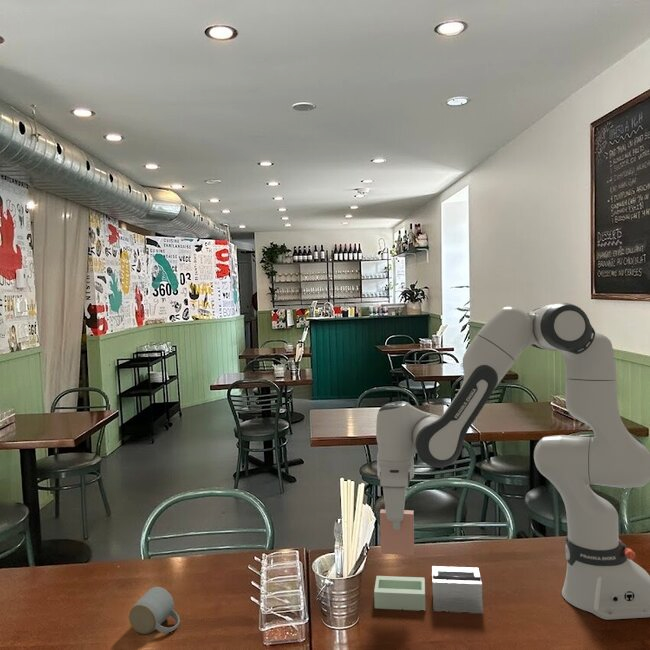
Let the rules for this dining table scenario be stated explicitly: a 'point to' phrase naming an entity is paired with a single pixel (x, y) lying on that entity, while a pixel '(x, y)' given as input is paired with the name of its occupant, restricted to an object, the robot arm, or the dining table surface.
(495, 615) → the dining table surface
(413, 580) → the stand
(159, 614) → the ceramic mug
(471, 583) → the dispenser
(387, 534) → the ticket
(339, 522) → the wineglass
